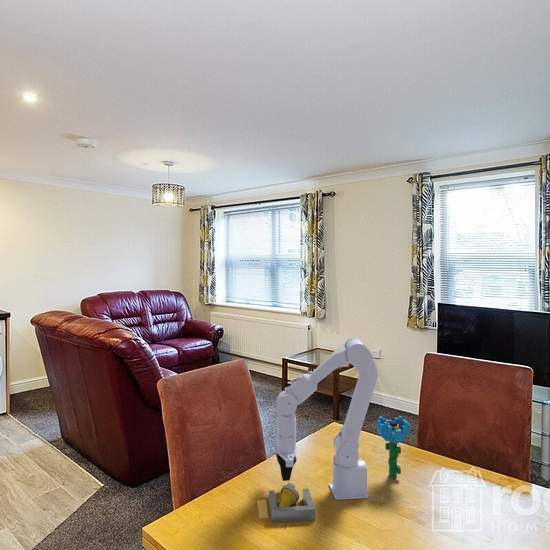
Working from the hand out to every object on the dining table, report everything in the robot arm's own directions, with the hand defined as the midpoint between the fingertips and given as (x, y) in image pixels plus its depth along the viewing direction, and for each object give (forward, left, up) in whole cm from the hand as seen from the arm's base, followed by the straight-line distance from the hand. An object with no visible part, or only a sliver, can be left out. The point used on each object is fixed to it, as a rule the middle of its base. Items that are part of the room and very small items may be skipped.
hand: (285, 479), depth 117 cm
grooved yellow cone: (-2, +4, +1) cm, 5 cm away
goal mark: (+7, +9, -3) cm, 12 cm away
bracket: (0, +9, -3) cm, 9 cm away
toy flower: (-34, -4, -3) cm, 34 cm away
